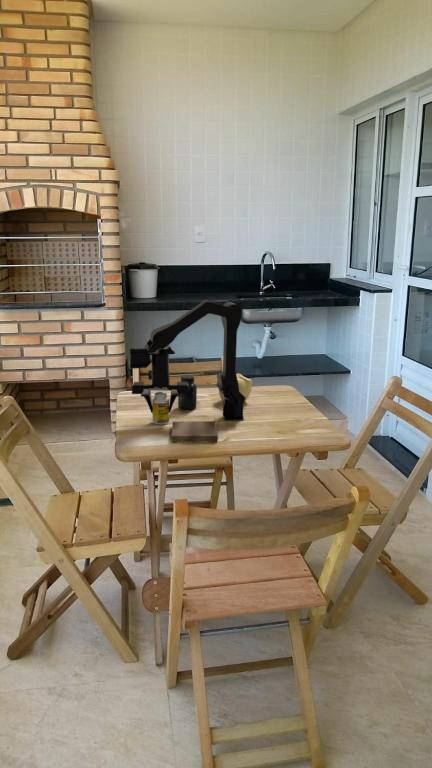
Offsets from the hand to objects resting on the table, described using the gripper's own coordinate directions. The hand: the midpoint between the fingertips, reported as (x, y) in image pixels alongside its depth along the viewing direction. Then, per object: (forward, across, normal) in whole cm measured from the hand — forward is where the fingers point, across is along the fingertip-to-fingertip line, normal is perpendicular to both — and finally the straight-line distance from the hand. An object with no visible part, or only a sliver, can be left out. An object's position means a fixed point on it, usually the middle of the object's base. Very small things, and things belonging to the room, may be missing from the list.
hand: (160, 412), depth 198 cm
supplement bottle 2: (+4, -9, -16) cm, 19 cm away
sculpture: (+4, -27, -24) cm, 36 cm away
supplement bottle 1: (+4, 0, 0) cm, 4 cm away
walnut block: (+4, -11, +12) cm, 17 cm away
